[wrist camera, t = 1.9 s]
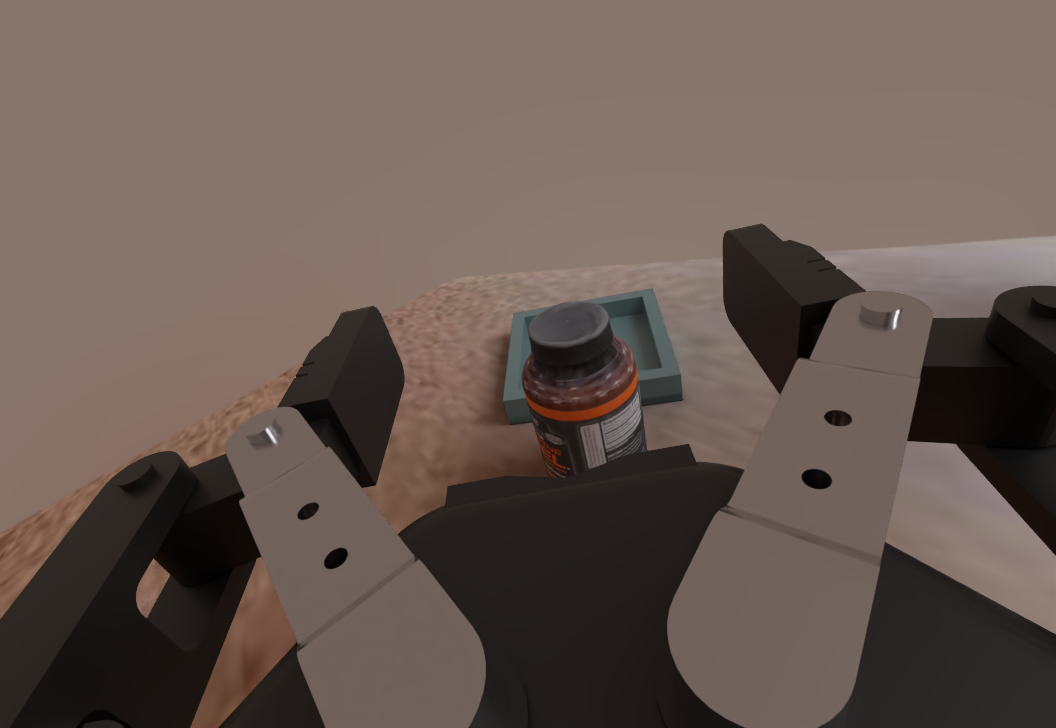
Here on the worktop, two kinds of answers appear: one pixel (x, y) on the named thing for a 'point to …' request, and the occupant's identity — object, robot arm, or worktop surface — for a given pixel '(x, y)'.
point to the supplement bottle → (581, 389)
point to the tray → (629, 321)
